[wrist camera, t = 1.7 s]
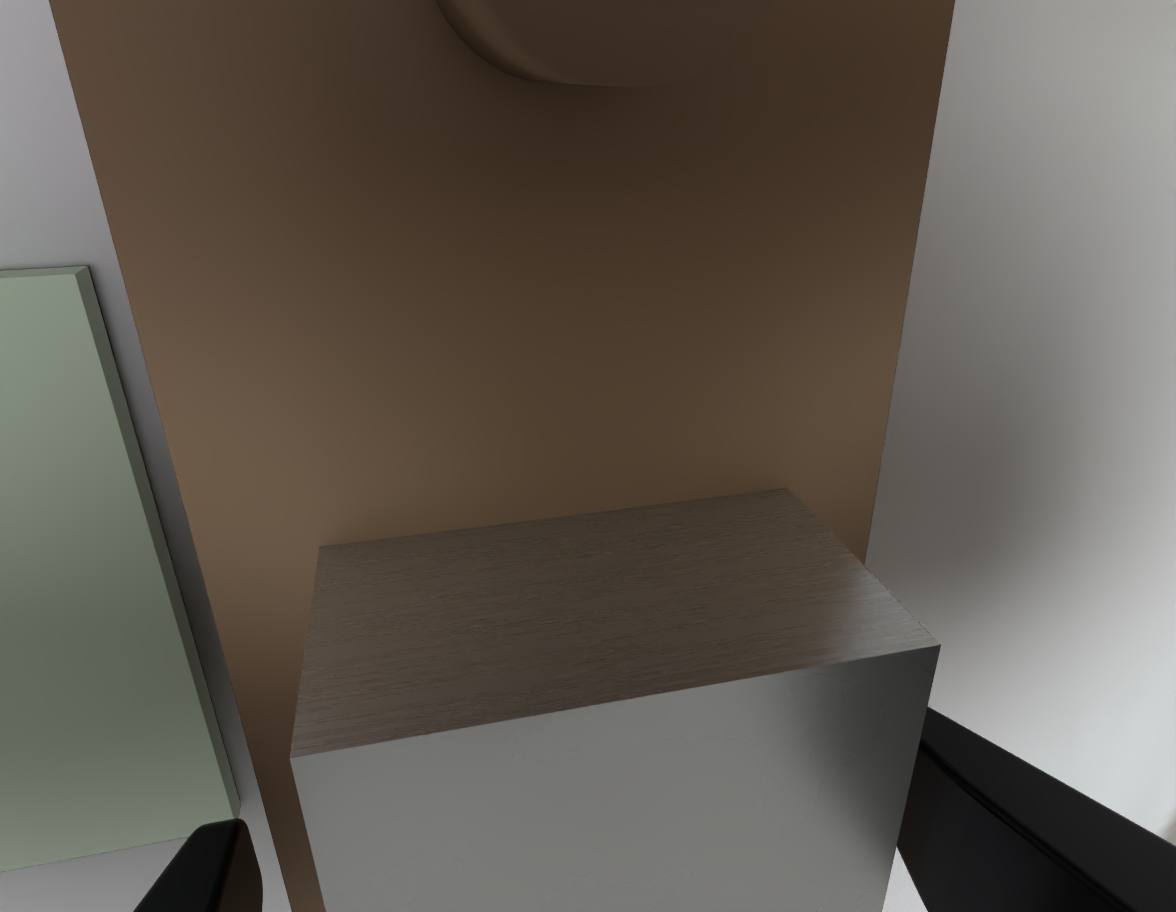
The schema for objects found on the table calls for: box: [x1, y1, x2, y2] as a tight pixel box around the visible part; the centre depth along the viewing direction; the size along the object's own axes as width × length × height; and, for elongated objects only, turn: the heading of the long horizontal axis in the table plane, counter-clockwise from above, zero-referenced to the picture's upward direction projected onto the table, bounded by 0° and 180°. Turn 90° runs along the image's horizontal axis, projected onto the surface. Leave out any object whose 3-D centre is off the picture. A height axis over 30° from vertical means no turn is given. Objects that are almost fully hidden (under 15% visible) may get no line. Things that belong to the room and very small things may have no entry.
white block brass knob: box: [290, 488, 941, 912], centre depth 8 cm, size 6×4×3 cm
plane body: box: [49, 0, 955, 912], centre depth 9 cm, size 18×7×6 cm, turn 1°
